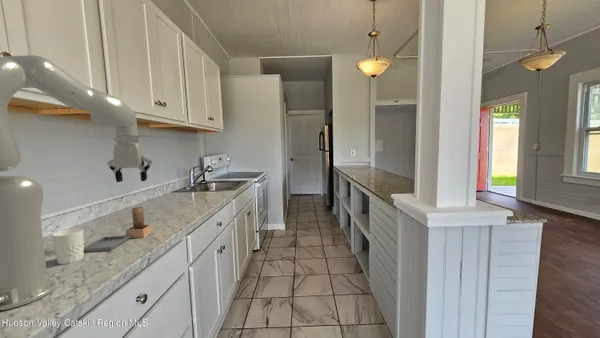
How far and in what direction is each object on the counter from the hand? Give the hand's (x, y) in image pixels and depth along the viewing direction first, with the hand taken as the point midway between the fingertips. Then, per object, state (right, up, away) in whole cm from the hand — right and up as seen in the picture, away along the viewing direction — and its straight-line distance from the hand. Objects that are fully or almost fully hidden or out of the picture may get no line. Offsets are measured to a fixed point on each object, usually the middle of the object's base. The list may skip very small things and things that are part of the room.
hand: (131, 181), depth 105 cm
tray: (-4, -25, -7) cm, 27 cm away
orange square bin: (+1, -24, +4) cm, 25 cm away
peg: (+1, -24, +4) cm, 24 cm away
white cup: (-8, -27, -19) cm, 34 cm away
